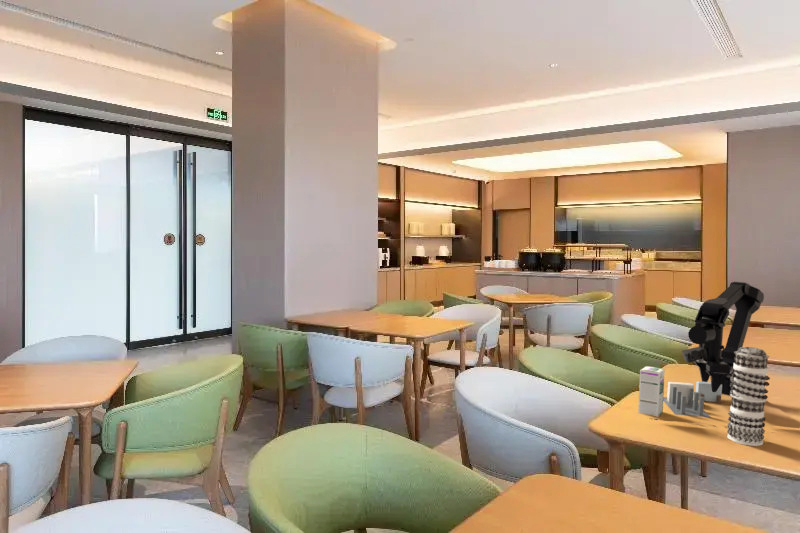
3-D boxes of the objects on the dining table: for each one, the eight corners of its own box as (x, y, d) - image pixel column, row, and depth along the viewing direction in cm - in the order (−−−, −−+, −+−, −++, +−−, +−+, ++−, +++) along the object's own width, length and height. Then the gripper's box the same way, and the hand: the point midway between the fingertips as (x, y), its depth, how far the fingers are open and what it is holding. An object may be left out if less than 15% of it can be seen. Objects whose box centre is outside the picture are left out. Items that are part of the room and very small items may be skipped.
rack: (692, 403, 186) (693, 383, 185) (711, 421, 168) (712, 399, 168) (659, 400, 188) (660, 380, 187) (674, 418, 170) (676, 396, 170)
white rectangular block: (690, 401, 183) (691, 383, 183) (692, 403, 181) (693, 385, 181) (666, 399, 185) (668, 381, 184) (668, 401, 182) (670, 383, 182)
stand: (717, 401, 188) (718, 391, 188) (724, 407, 182) (725, 396, 182) (691, 399, 190) (692, 389, 189) (697, 405, 184) (698, 394, 184)
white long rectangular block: (718, 400, 186) (719, 382, 186) (720, 403, 184) (722, 384, 184) (695, 399, 188) (696, 381, 187) (697, 401, 185) (698, 383, 185)
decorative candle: (717, 435, 156) (723, 346, 155) (741, 432, 160) (748, 344, 158) (748, 448, 148) (755, 353, 146) (773, 444, 151) (780, 351, 149)
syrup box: (658, 420, 168) (661, 372, 166) (637, 416, 171) (640, 368, 170) (662, 415, 172) (665, 368, 171) (642, 411, 176) (645, 365, 175)
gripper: (677, 334, 195) (674, 378, 196) (694, 345, 177) (691, 394, 178) (712, 336, 193) (709, 381, 194) (733, 347, 175) (730, 397, 176)
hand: (709, 388), depth 186 cm, fingers open, 9 cm apart
